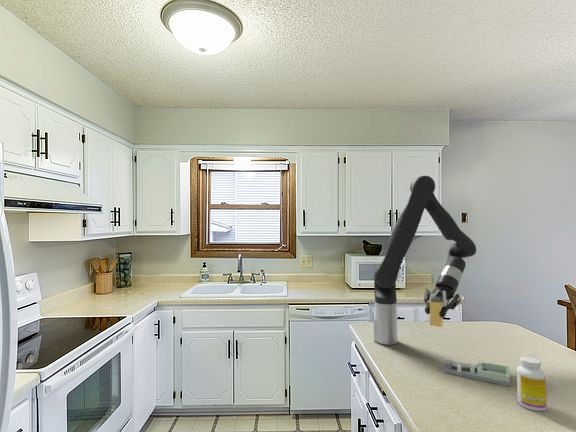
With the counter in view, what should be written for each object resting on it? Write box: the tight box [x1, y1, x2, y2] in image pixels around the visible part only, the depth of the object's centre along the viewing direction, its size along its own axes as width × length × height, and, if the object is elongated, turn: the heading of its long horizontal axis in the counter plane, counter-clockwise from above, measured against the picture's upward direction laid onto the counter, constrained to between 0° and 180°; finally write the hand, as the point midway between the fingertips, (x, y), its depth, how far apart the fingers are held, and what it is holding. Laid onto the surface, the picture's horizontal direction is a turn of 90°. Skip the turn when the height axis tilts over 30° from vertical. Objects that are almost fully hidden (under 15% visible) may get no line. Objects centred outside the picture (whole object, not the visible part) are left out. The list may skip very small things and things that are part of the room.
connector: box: [429, 295, 444, 328], centre depth 128 cm, size 4×4×10 cm
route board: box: [443, 359, 511, 387], centre depth 114 cm, size 19×9×3 cm, turn 57°
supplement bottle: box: [516, 356, 548, 412], centre depth 94 cm, size 7×7×13 cm
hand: (433, 314), depth 127 cm, fingers closed on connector, 5 cm apart
